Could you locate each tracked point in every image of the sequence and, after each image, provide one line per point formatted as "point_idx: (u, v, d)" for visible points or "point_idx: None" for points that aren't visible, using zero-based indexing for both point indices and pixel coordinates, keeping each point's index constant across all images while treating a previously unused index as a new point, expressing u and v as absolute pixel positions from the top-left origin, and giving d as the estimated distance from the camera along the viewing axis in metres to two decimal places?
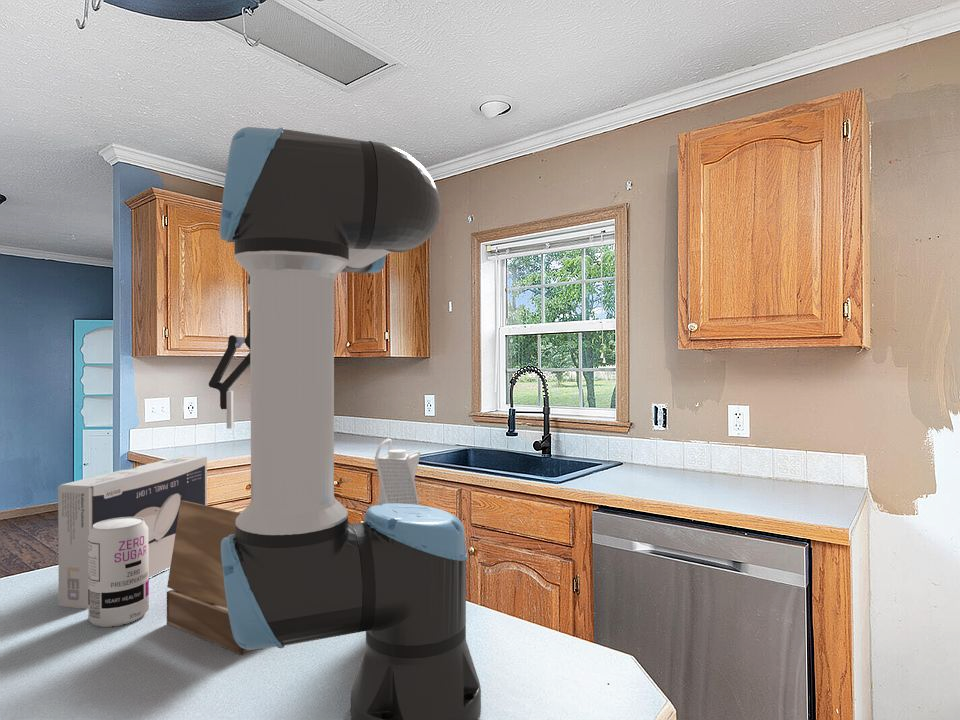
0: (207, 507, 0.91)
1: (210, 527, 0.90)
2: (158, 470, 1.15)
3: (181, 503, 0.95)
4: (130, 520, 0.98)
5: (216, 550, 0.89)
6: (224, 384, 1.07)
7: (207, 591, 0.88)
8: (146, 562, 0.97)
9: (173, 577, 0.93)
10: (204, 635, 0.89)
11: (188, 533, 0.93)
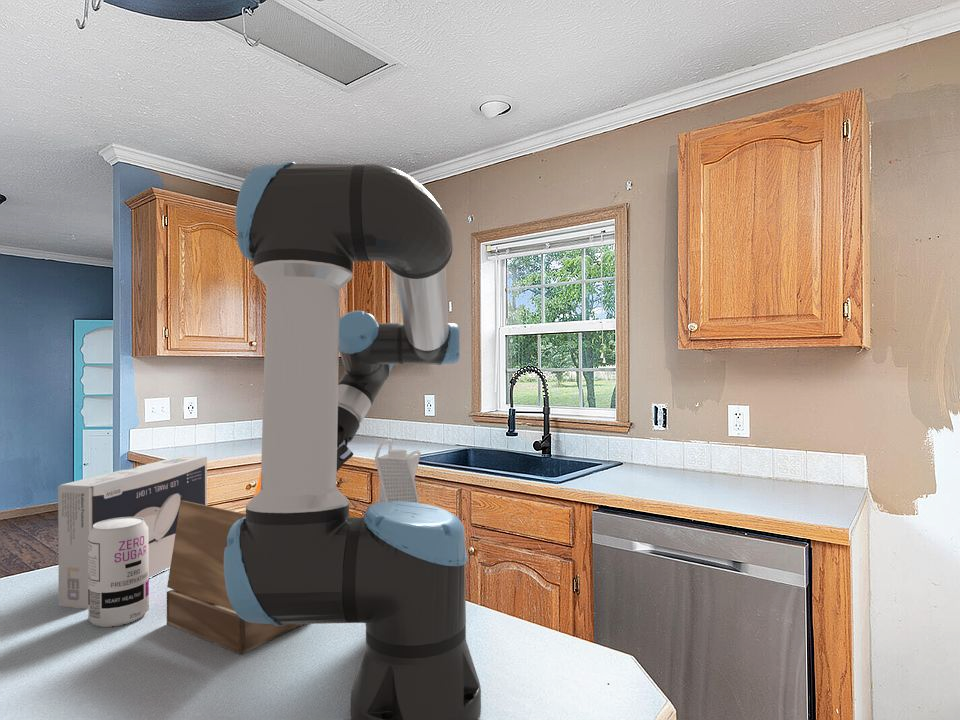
0: (207, 507, 0.91)
1: (210, 527, 0.90)
2: (158, 470, 1.15)
3: (181, 503, 0.95)
4: (130, 520, 0.98)
5: (216, 550, 0.89)
6: None
7: (207, 591, 0.88)
8: (146, 562, 0.97)
9: (173, 577, 0.93)
10: (204, 635, 0.89)
11: (188, 533, 0.93)
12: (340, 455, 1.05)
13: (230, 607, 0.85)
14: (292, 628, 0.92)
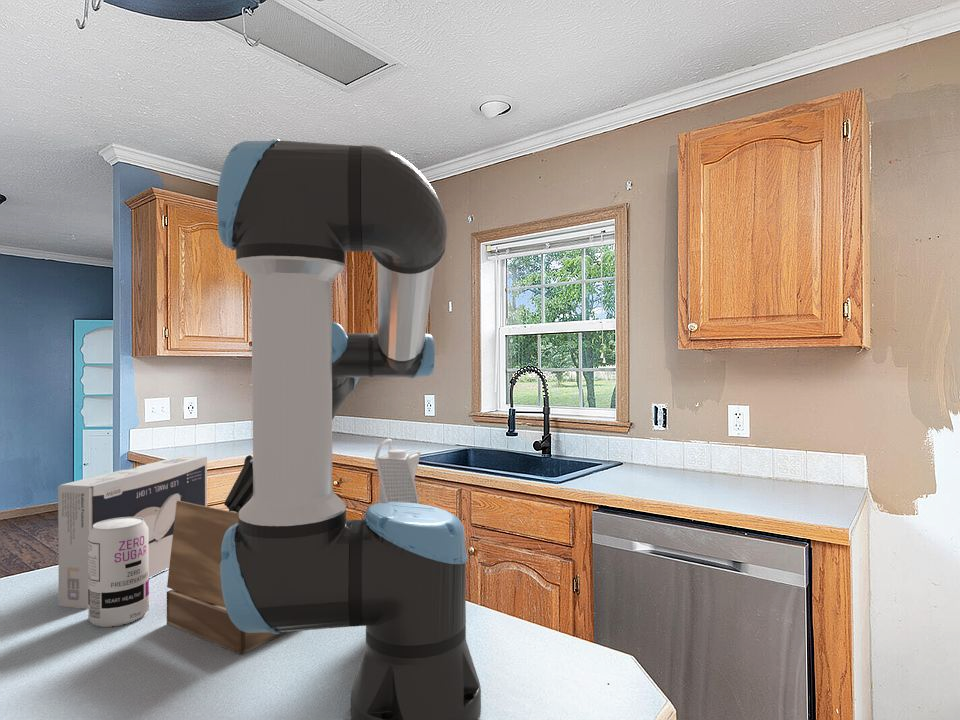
0: (203, 507, 0.91)
1: (207, 527, 0.90)
2: (158, 470, 1.15)
3: (177, 503, 0.94)
4: (130, 520, 0.98)
5: (214, 550, 0.88)
6: (233, 503, 0.96)
7: (206, 591, 0.88)
8: (146, 562, 0.97)
9: (172, 577, 0.93)
10: (204, 635, 0.89)
11: (186, 534, 0.92)
12: None
13: None
14: None
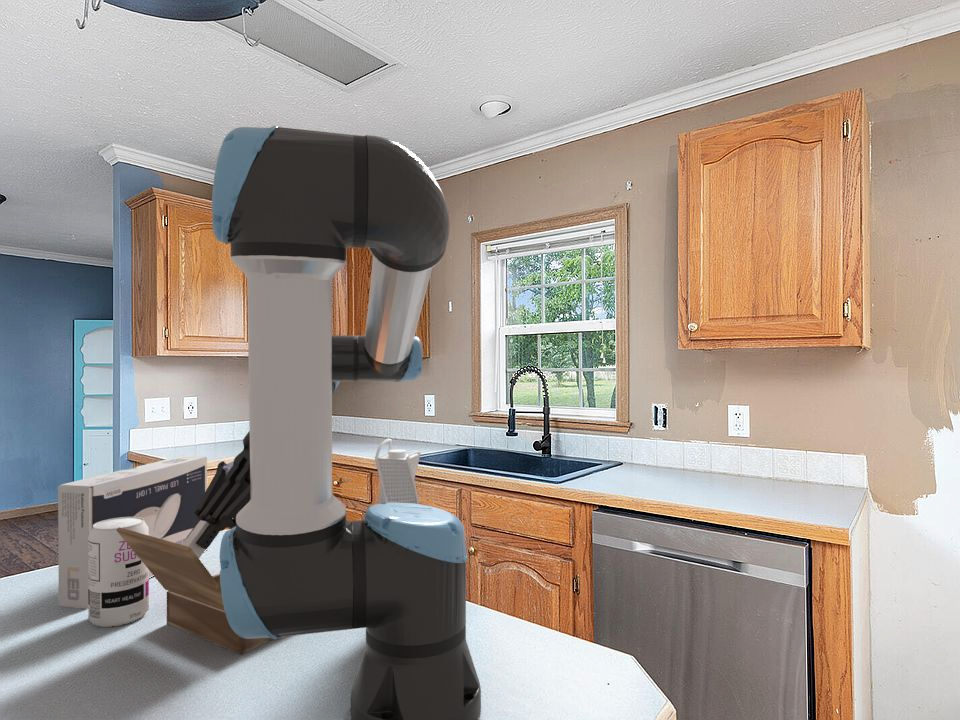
0: (143, 538, 0.83)
1: (160, 553, 0.84)
2: (158, 470, 1.15)
3: (118, 532, 0.87)
4: (130, 520, 0.98)
5: (180, 570, 0.84)
6: (203, 512, 0.91)
7: (199, 597, 0.87)
8: None
9: (163, 583, 0.92)
10: (204, 635, 0.89)
11: (146, 555, 0.87)
12: None
13: None
14: None
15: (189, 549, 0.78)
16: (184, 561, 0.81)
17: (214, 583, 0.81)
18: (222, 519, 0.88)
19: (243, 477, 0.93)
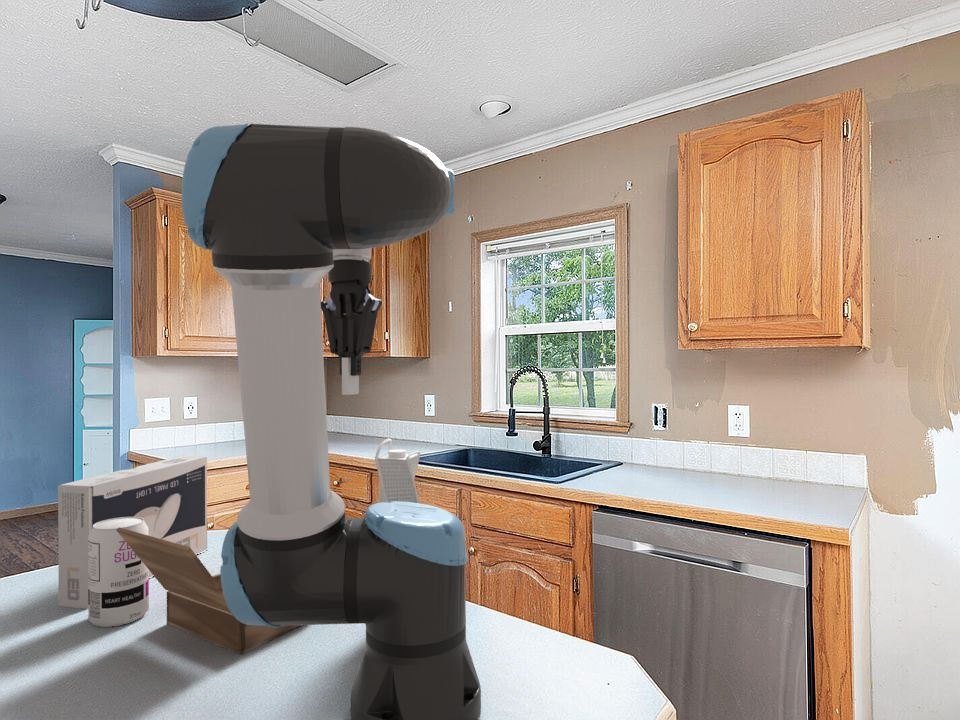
0: (143, 538, 0.83)
1: (159, 553, 0.84)
2: (158, 470, 1.15)
3: (118, 532, 0.87)
4: (130, 520, 0.98)
5: (180, 571, 0.84)
6: (339, 350, 1.08)
7: (199, 597, 0.87)
8: None
9: (163, 583, 0.92)
10: (204, 635, 0.89)
11: (146, 555, 0.87)
12: (371, 309, 1.04)
13: (227, 610, 0.85)
14: (292, 628, 0.92)
15: (189, 549, 0.78)
16: (184, 561, 0.81)
17: (214, 583, 0.81)
18: (359, 352, 1.05)
19: (352, 312, 1.06)
